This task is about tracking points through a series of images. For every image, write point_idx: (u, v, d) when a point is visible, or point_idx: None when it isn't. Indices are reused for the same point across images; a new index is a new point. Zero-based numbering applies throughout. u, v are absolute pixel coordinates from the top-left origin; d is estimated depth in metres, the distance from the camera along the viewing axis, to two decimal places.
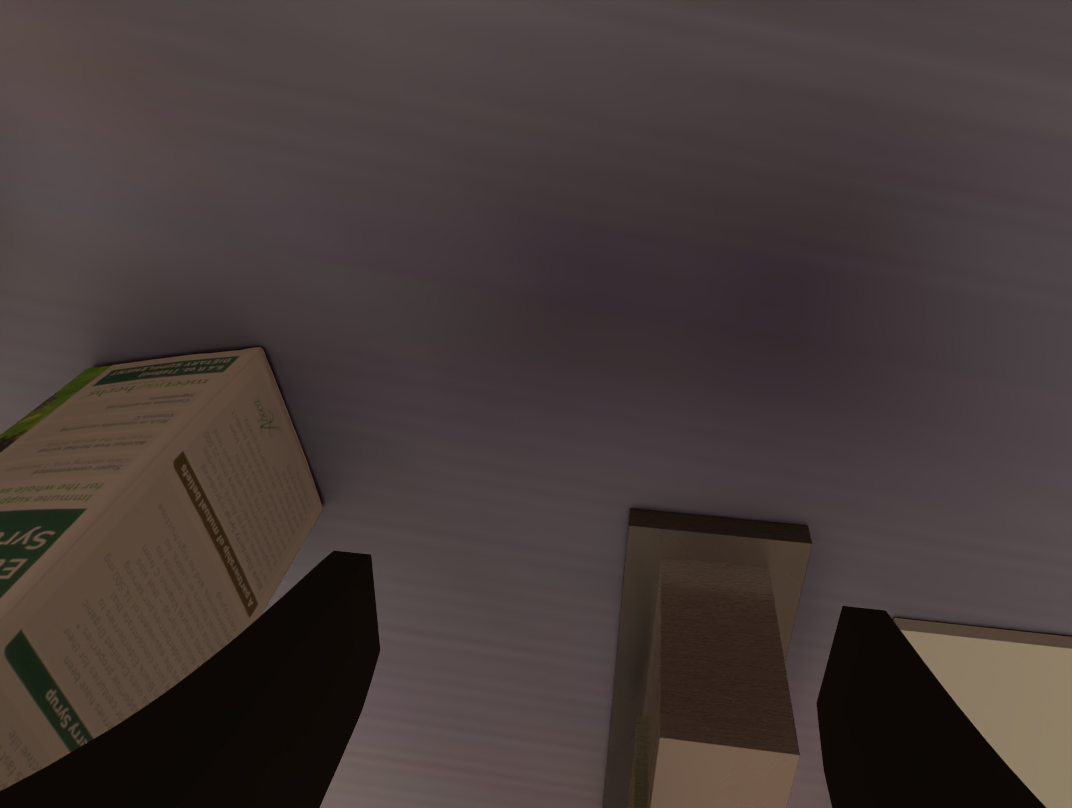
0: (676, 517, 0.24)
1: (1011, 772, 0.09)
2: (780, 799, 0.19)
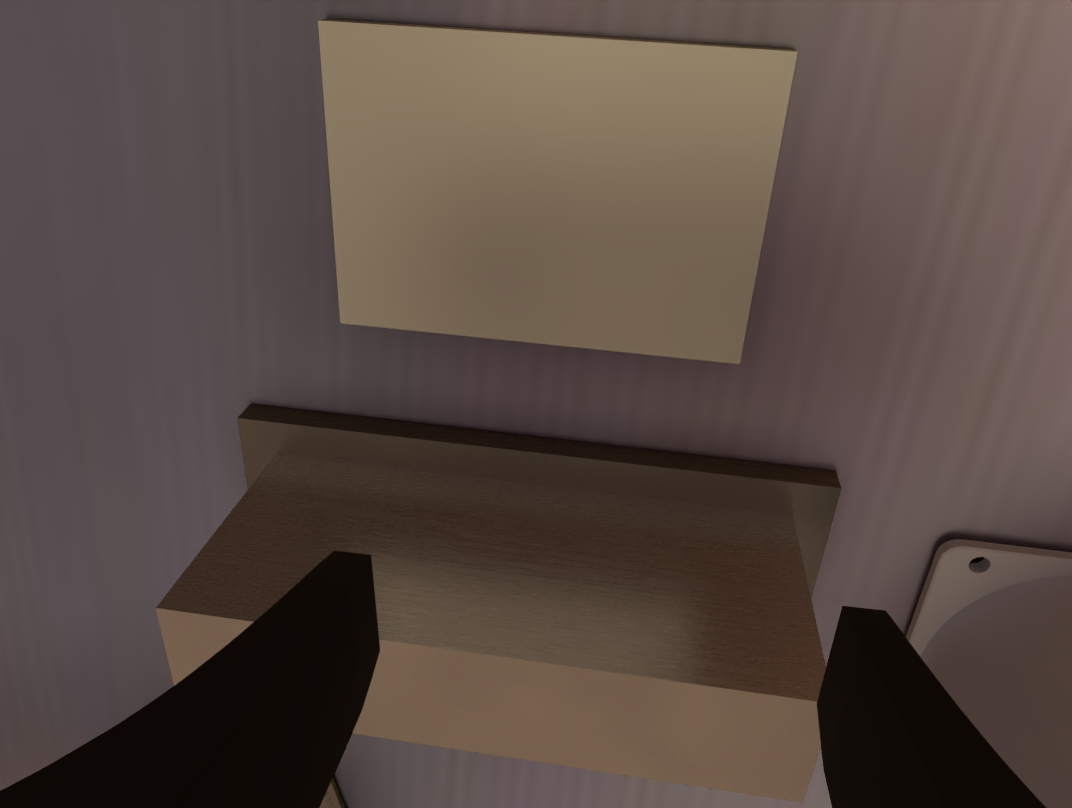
0: None
1: (1011, 772, 0.09)
2: (225, 623, 0.17)
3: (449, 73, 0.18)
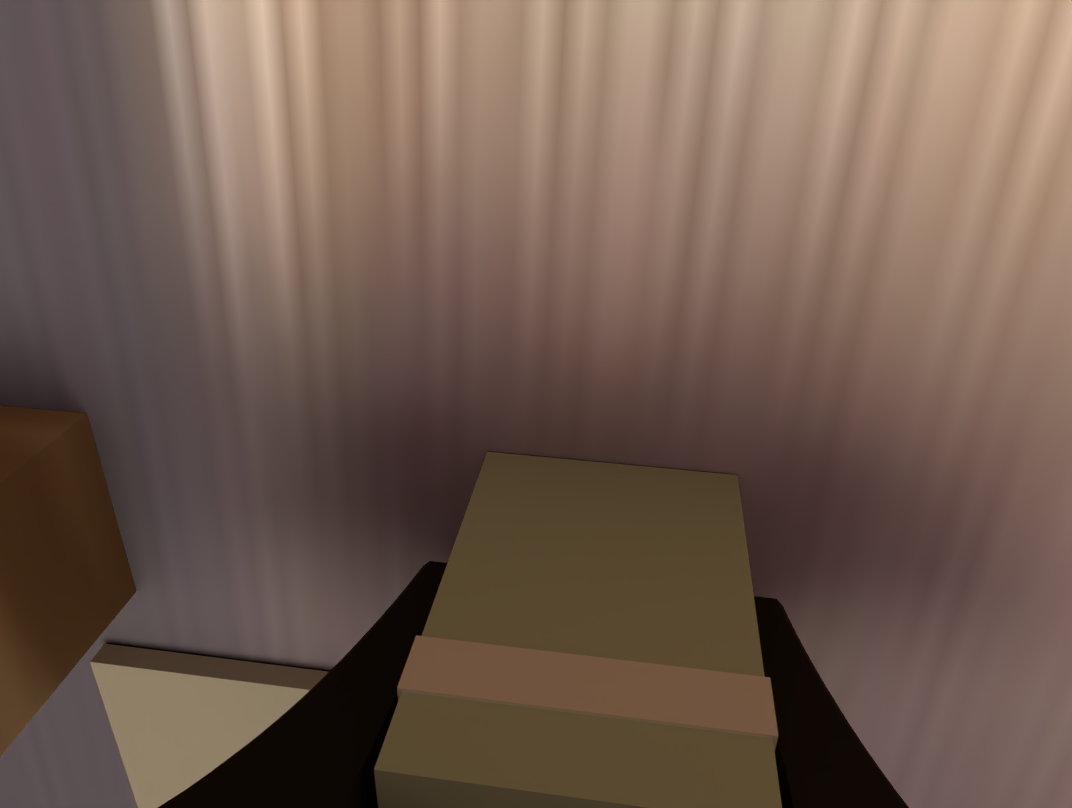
0: None
1: (864, 753, 0.09)
2: None
3: (232, 710, 0.17)
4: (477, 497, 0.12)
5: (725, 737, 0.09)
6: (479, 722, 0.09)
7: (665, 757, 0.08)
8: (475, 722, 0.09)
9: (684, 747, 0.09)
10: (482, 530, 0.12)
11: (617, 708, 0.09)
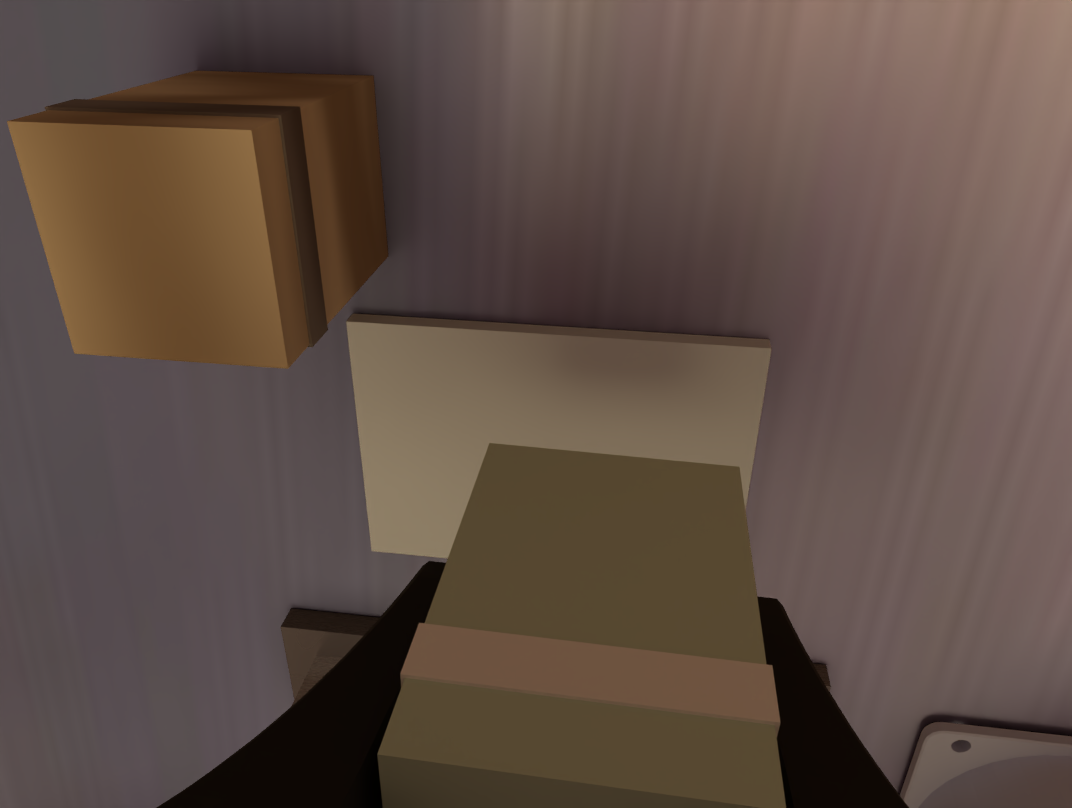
0: None
1: (864, 753, 0.09)
2: None
3: (463, 362, 0.20)
4: (480, 487, 0.12)
5: (727, 724, 0.09)
6: (482, 708, 0.09)
7: (667, 742, 0.09)
8: (478, 707, 0.09)
9: (686, 733, 0.09)
10: (485, 520, 0.12)
11: (620, 695, 0.09)
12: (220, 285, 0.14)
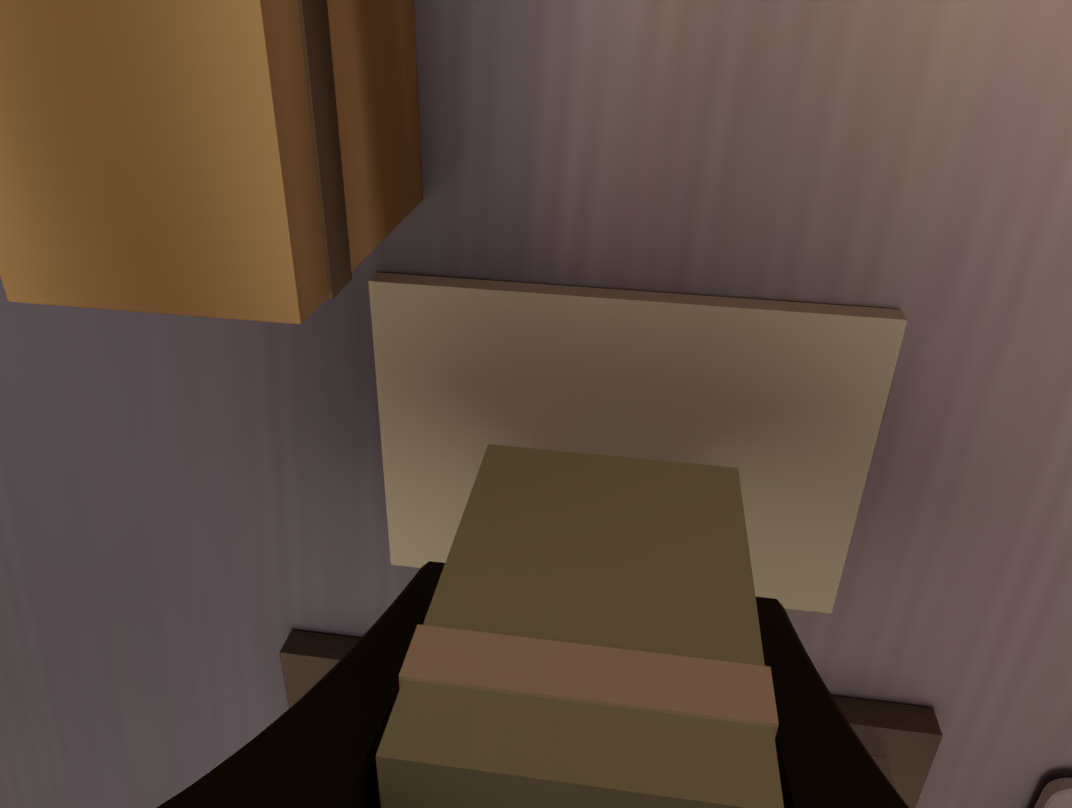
0: None
1: (865, 754, 0.09)
2: None
3: (514, 333, 0.16)
4: (478, 489, 0.12)
5: (725, 725, 0.09)
6: (480, 710, 0.09)
7: (665, 744, 0.09)
8: (476, 709, 0.09)
9: (685, 735, 0.09)
10: (483, 521, 0.12)
11: (618, 696, 0.09)
12: (209, 204, 0.10)
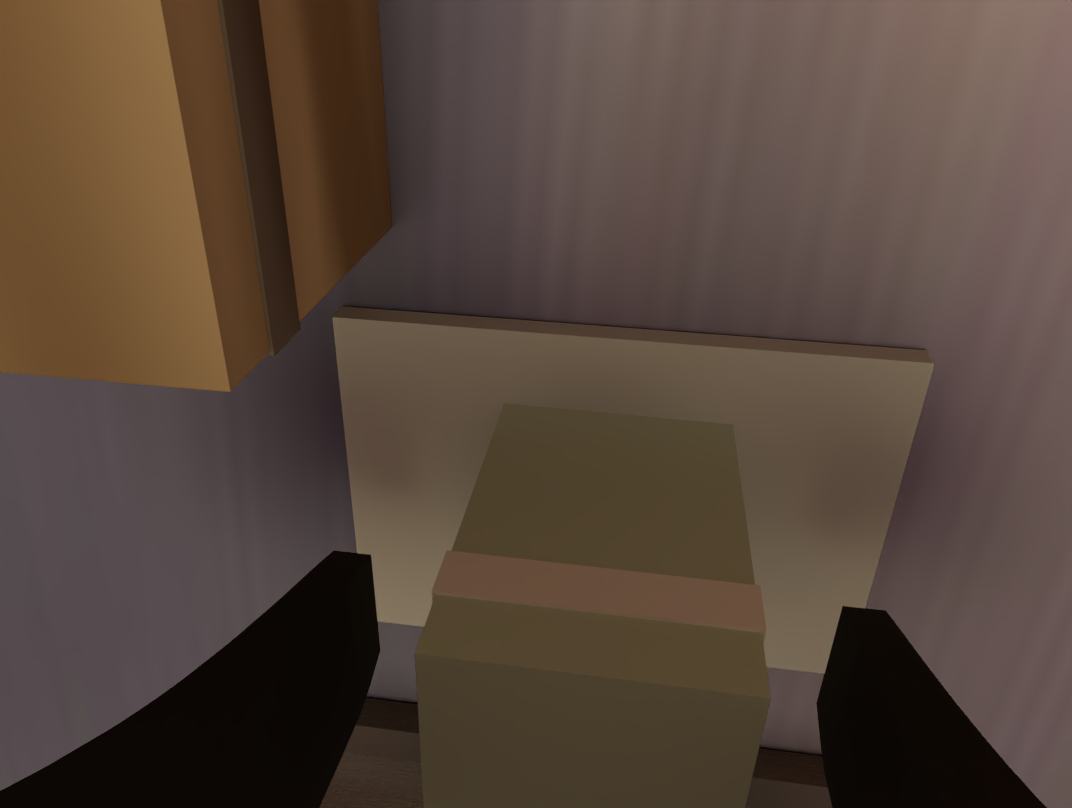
0: None
1: (1011, 772, 0.09)
2: None
3: (494, 375, 0.14)
4: (496, 441, 0.14)
5: (720, 631, 0.10)
6: (505, 618, 0.10)
7: (668, 646, 0.10)
8: (501, 617, 0.10)
9: (684, 638, 0.10)
10: (502, 467, 0.13)
11: (625, 608, 0.10)
12: (115, 252, 0.08)
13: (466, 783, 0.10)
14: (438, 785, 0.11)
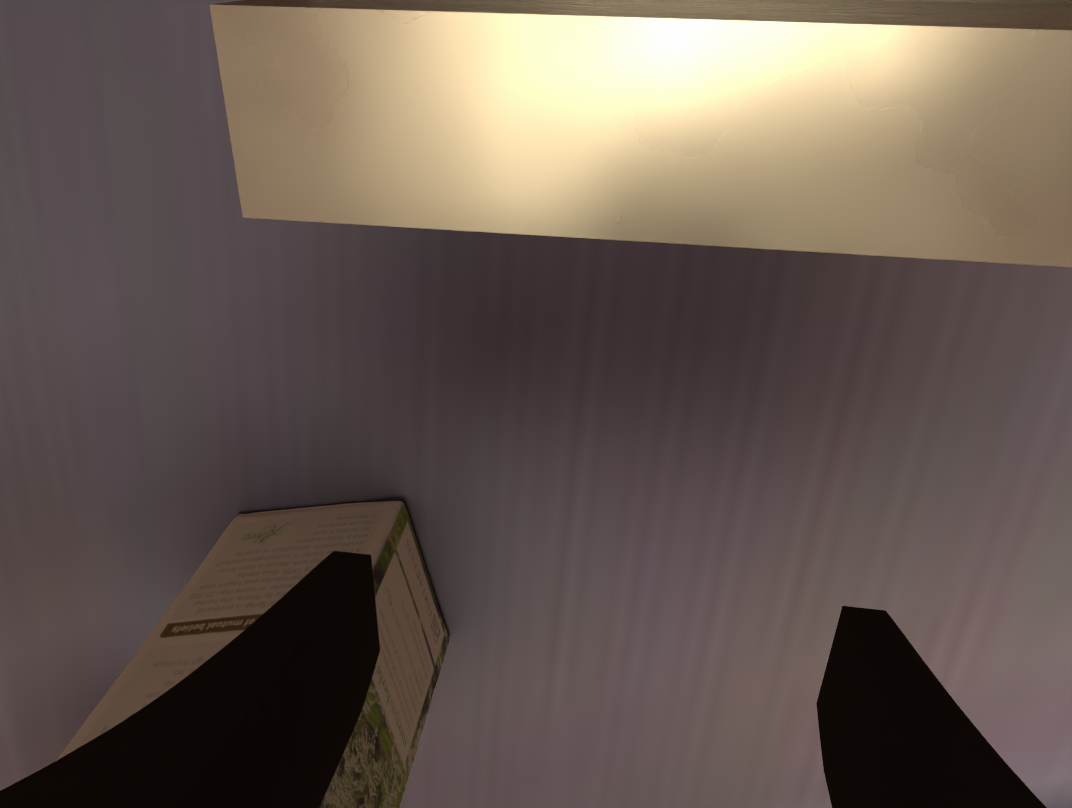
0: None
1: (1011, 772, 0.09)
2: (315, 21, 0.11)
3: None
4: None
5: None
6: None
7: None
8: None
9: None
10: None
11: None
12: None
13: None
14: None
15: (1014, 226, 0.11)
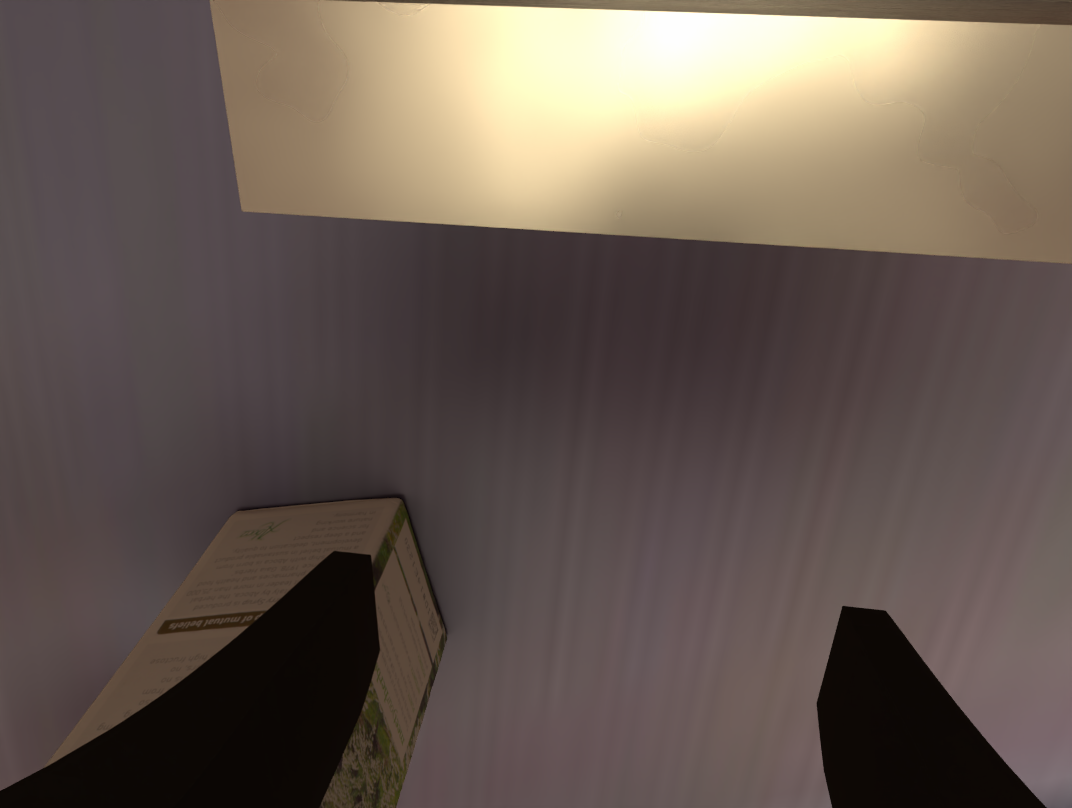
0: None
1: (1011, 772, 0.09)
2: (316, 13, 0.11)
3: None
4: None
5: None
6: None
7: None
8: None
9: None
10: None
11: None
12: None
13: None
14: None
15: (1016, 222, 0.11)
